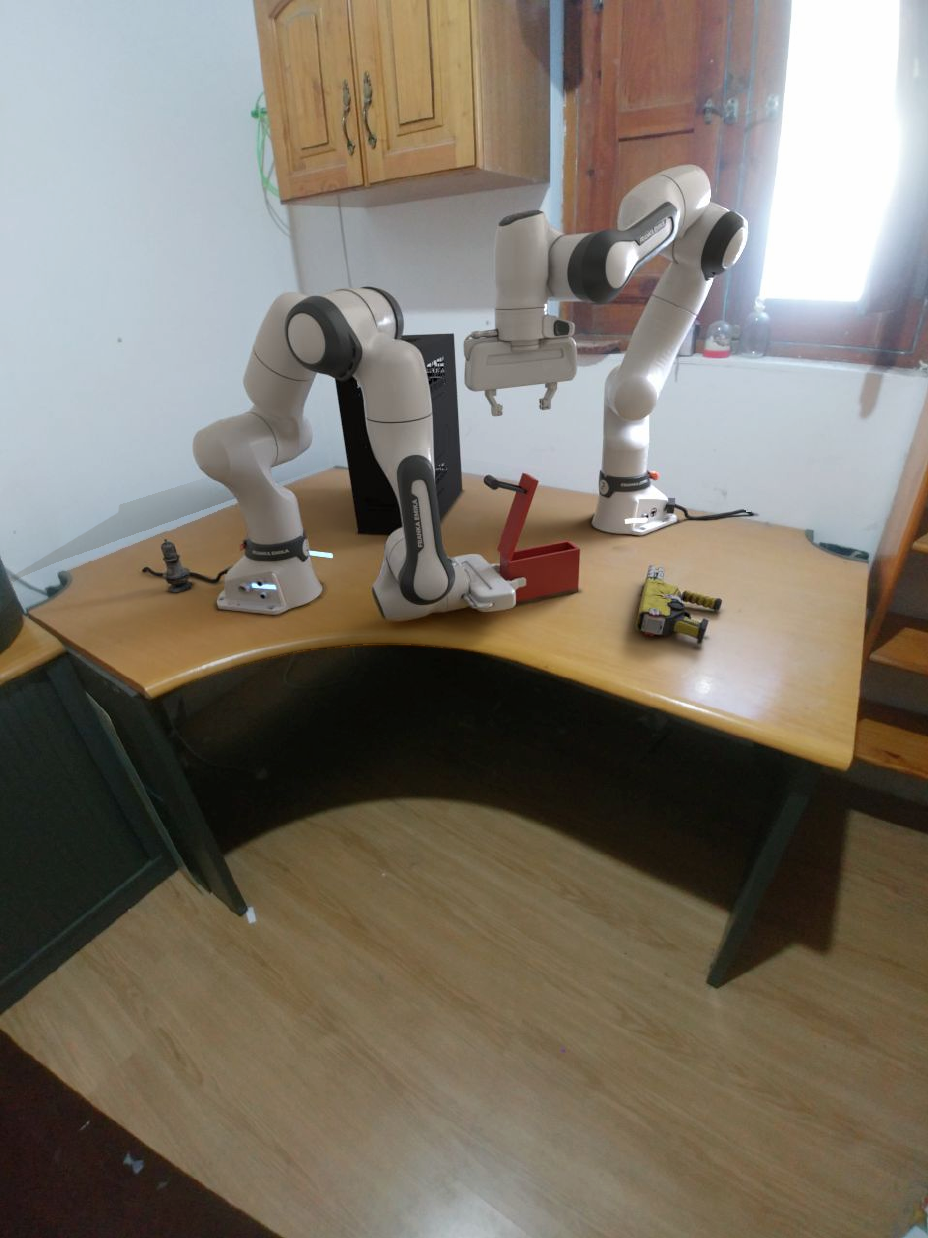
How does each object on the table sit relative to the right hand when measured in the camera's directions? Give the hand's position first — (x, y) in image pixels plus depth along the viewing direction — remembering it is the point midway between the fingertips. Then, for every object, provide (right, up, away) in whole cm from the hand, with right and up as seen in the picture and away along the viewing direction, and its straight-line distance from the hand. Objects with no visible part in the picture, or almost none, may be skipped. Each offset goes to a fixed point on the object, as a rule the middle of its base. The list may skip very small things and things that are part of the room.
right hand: (521, 412), depth 108 cm
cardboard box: (-25, -5, +69) cm, 73 cm away
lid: (+1, -17, +10) cm, 20 cm away
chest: (+6, -32, +20) cm, 38 cm away
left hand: (+1, -28, +16) cm, 32 cm away
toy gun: (+32, -36, +10) cm, 49 cm away
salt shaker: (-76, -30, +31) cm, 87 cm away
